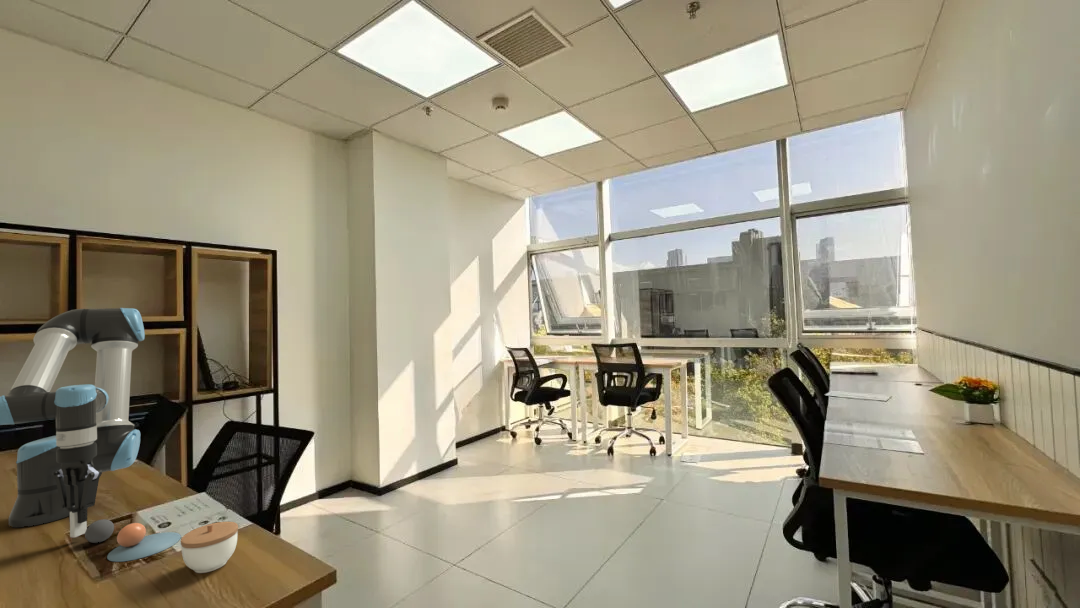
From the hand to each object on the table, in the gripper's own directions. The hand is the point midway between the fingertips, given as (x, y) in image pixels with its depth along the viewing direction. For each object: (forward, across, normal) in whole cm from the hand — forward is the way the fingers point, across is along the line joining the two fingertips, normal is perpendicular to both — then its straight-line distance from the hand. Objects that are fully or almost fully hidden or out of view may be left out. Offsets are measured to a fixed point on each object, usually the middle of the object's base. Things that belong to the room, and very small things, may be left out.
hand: (78, 534), depth 118 cm
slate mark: (+2, +21, 0) cm, 21 cm away
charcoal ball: (-1, +6, +1) cm, 6 cm away
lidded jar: (+2, +47, -6) cm, 47 cm away
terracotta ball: (-1, +17, 0) cm, 17 cm away
